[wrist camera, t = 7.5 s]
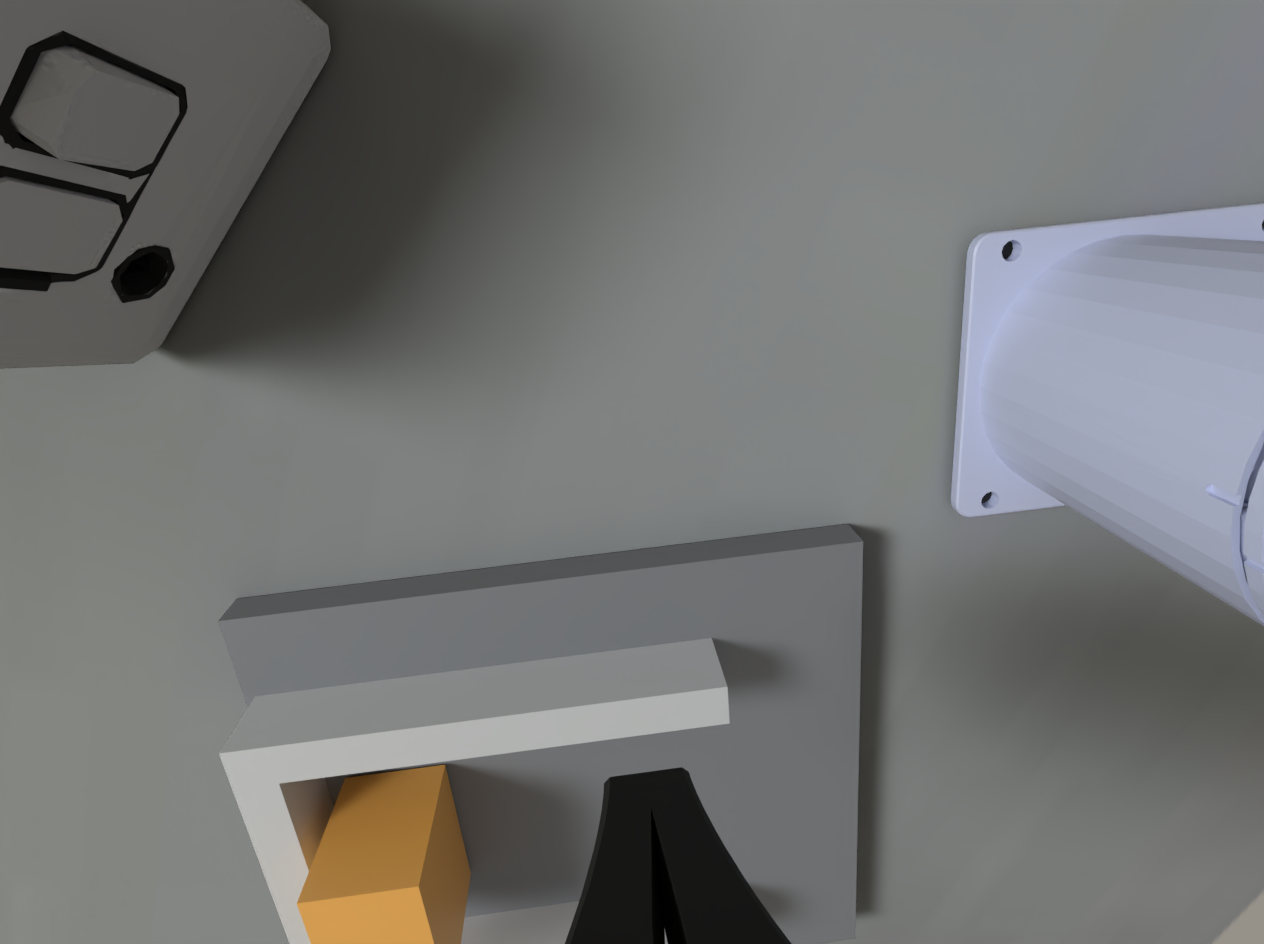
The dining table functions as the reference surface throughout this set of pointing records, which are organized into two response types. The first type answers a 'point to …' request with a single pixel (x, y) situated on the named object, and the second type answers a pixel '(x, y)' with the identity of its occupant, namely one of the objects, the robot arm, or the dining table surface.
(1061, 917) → the dining table surface
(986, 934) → the dining table surface
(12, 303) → the electrical switch
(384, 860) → the block
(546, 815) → the grey tray
